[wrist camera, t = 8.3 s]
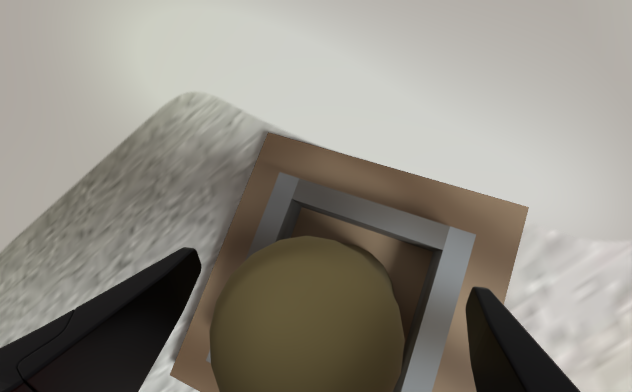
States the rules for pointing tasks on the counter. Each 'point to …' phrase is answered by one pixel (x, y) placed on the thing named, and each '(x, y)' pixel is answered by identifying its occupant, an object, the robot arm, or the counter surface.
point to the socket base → (373, 250)
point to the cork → (307, 321)
